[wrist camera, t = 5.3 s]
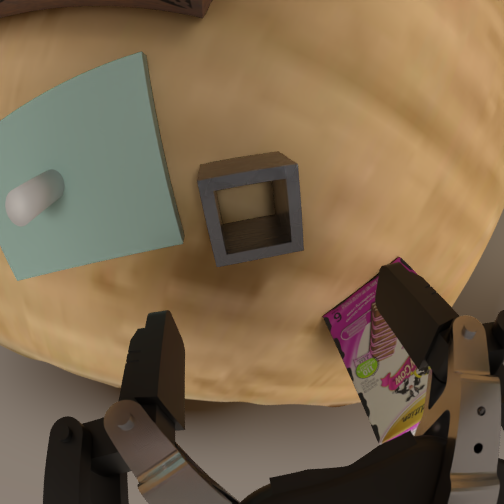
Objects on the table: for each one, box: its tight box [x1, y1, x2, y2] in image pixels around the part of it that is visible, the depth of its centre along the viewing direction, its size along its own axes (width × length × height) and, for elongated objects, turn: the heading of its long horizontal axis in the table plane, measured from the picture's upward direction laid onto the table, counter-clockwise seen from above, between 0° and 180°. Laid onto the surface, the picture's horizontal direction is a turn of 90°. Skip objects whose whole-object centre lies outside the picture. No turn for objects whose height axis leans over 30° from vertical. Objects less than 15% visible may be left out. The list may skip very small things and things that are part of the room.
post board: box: [0, 52, 184, 281], centre depth 15 cm, size 19×15×6 cm
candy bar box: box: [323, 257, 431, 445], centre depth 22 cm, size 11×5×16 cm, turn 130°
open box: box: [197, 151, 304, 267], centre depth 19 cm, size 6×6×5 cm
